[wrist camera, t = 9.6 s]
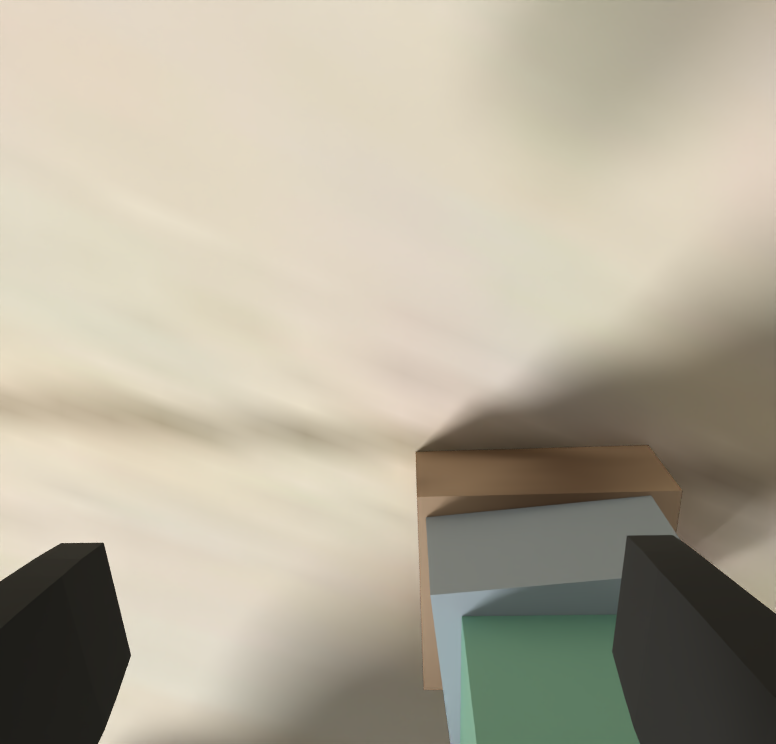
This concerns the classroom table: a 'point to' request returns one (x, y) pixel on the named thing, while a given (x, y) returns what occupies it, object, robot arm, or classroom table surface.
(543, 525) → the slate-grey block
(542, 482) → the walnut base block
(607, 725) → the light green block
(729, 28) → the classroom table surface
